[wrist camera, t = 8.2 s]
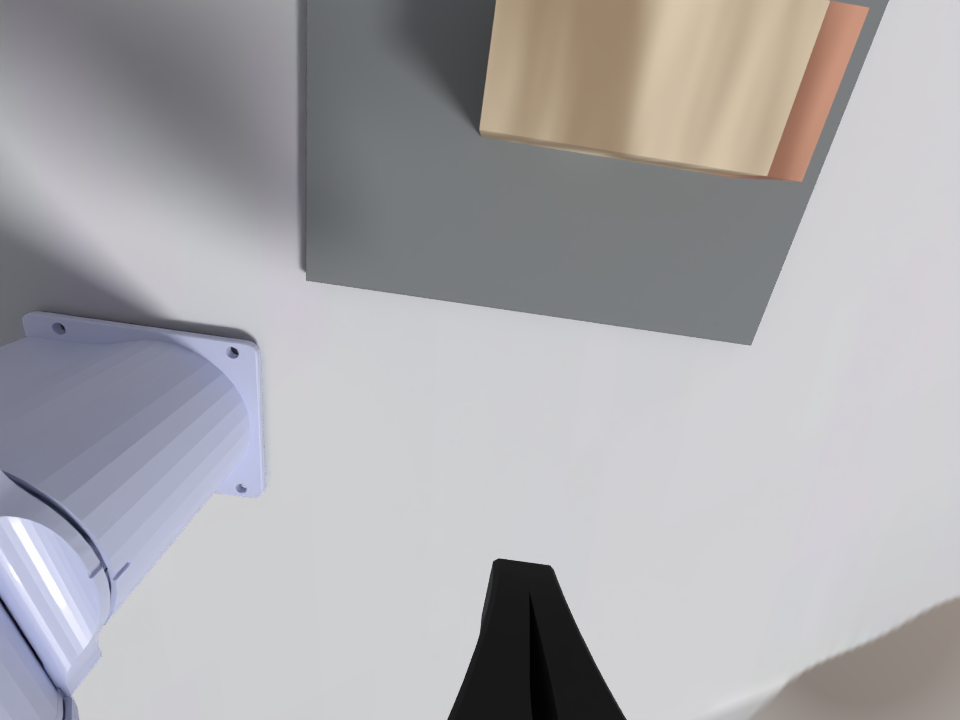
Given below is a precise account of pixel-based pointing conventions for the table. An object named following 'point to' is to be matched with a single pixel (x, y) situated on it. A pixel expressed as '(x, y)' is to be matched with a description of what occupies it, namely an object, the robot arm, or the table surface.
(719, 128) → the maple block
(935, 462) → the table surface
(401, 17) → the rubber mat
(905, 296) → the table surface
